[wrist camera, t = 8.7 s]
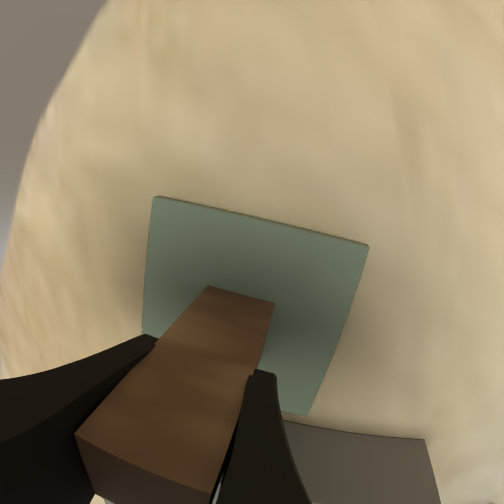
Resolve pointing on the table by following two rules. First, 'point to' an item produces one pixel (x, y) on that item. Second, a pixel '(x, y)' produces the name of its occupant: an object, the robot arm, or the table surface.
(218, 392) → the wooden peg
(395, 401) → the table surface
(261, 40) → the table surface
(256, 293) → the mat
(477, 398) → the table surface
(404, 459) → the panel
